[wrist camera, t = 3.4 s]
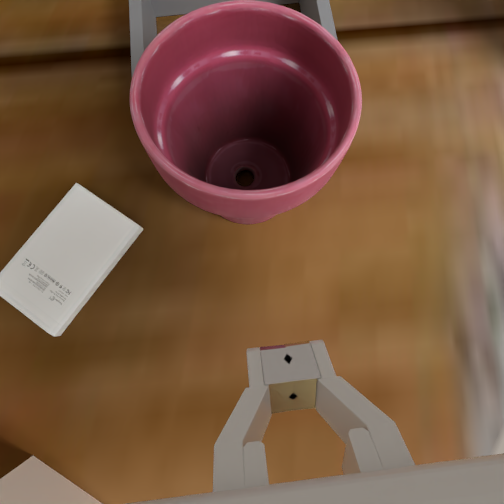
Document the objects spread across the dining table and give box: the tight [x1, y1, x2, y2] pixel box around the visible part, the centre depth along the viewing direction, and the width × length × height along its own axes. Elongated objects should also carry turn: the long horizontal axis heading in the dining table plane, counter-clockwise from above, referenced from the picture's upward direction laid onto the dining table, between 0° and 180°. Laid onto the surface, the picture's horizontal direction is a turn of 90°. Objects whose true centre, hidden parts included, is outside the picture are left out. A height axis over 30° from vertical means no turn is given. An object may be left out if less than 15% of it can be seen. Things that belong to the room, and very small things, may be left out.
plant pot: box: [130, 0, 362, 224], centre depth 24 cm, size 14×14×13 cm
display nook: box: [129, 0, 338, 77], centre depth 31 cm, size 19×14×5 cm
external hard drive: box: [0, 183, 143, 337], centre depth 28 cm, size 2×8×12 cm
